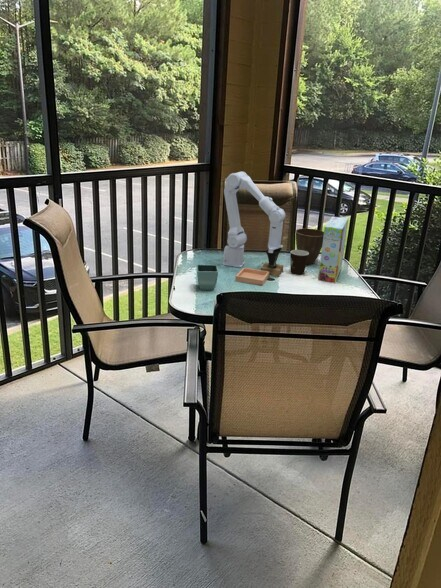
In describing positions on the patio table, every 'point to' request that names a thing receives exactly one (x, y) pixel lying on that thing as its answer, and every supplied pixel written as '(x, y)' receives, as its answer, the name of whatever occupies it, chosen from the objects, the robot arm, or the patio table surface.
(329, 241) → the snack box
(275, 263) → the pin
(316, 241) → the plant pot
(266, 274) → the dish
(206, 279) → the flower pot
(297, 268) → the coffee mug
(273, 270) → the block
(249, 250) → the patio table surface
